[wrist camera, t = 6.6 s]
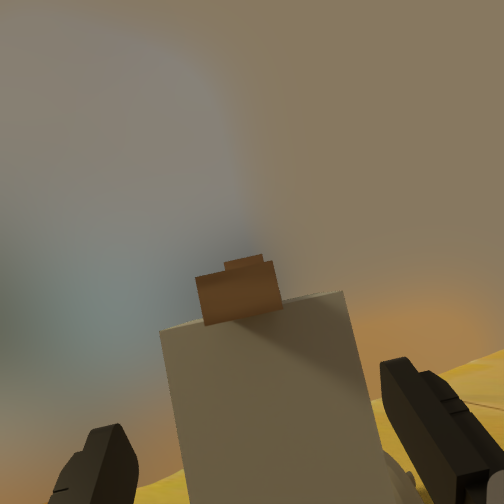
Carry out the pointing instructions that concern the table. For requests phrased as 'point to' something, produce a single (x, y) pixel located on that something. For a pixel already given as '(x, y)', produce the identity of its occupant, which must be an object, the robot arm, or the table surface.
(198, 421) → the pedestal
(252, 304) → the brown wooden bar
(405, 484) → the white chicken figure
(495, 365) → the table surface
